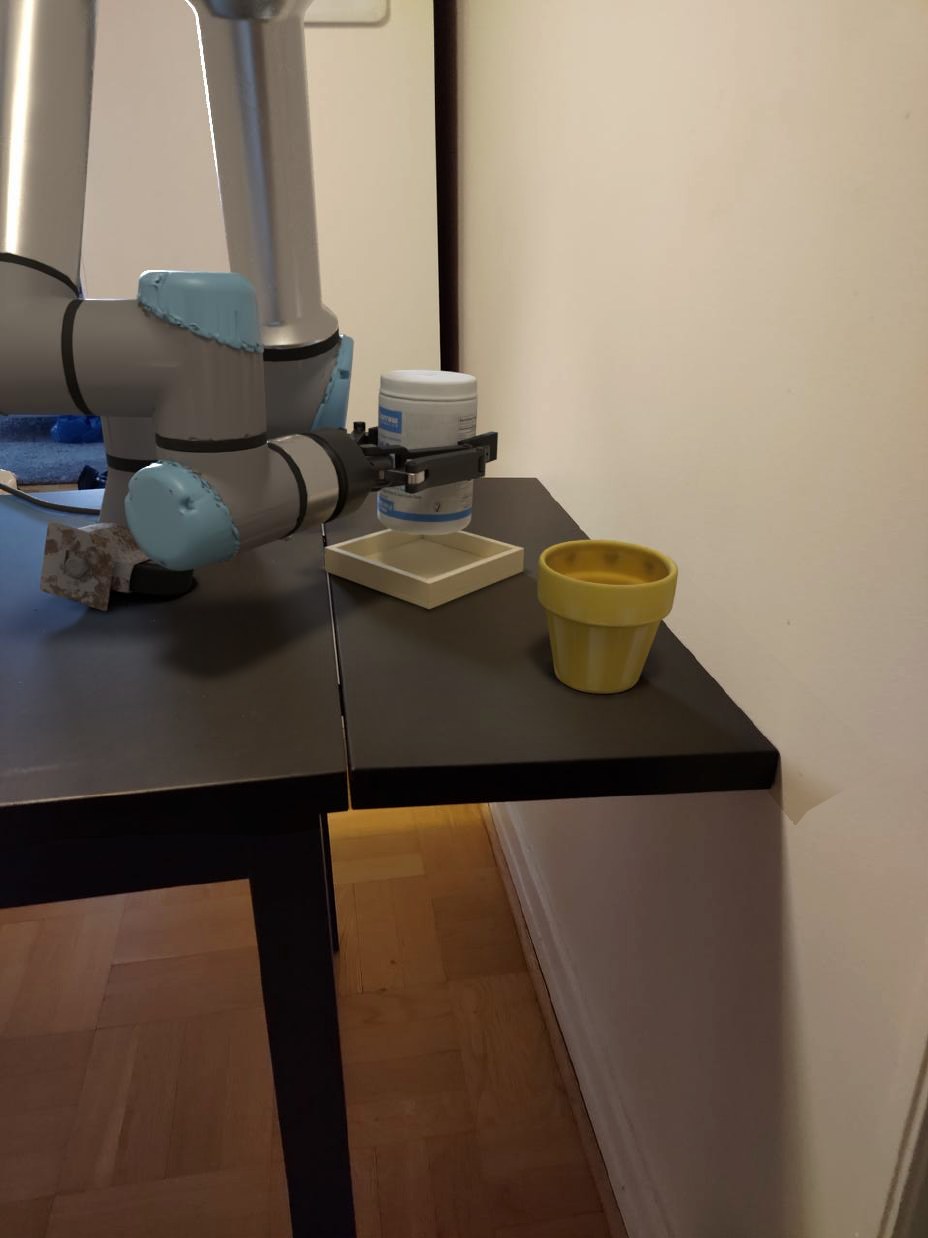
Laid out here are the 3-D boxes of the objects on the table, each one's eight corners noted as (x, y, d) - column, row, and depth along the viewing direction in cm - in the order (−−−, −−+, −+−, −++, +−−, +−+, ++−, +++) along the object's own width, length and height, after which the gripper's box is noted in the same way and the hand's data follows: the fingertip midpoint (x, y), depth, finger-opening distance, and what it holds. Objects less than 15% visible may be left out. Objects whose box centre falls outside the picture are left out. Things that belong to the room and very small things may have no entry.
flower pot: (594, 721, 61) (608, 594, 57) (504, 667, 69) (511, 552, 65) (689, 685, 67) (707, 567, 63) (597, 638, 74) (608, 531, 70)
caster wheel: (201, 603, 85) (150, 628, 76) (98, 570, 86) (34, 591, 76) (213, 540, 83) (162, 557, 74) (108, 507, 84) (44, 520, 75)
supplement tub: (362, 531, 83) (360, 376, 78) (397, 507, 92) (397, 366, 86) (457, 542, 81) (461, 384, 75) (483, 517, 89) (489, 372, 84)
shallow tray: (325, 571, 88) (324, 547, 87) (421, 540, 98) (421, 518, 97) (429, 609, 79) (429, 583, 78) (523, 571, 89) (524, 548, 88)
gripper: (211, 503, 75) (362, 460, 93) (421, 549, 65) (546, 491, 83) (203, 418, 73) (361, 390, 90) (422, 452, 62) (551, 413, 80)
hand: (449, 439), depth 87 cm, fingers closed on supplement tub, 10 cm apart
